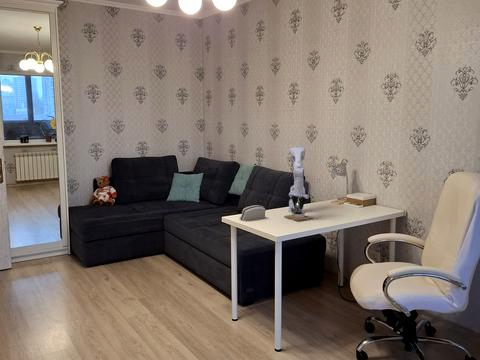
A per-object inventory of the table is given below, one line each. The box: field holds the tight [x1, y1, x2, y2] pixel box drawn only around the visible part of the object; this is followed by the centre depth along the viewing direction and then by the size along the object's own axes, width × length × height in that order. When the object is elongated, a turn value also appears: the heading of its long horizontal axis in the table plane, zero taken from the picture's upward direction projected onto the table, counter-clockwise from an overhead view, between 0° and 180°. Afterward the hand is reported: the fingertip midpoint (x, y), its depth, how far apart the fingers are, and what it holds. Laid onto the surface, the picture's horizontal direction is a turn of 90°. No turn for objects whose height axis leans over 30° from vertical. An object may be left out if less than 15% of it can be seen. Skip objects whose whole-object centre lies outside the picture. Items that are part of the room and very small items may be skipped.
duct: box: [283, 212, 314, 223], centre depth 270 cm, size 14×12×4 cm
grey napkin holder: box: [239, 204, 266, 222], centre depth 270 cm, size 17×5×10 cm, turn 120°
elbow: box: [291, 202, 302, 214], centre depth 268 cm, size 8×4×8 cm, turn 135°
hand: (298, 208), depth 270 cm, fingers closed on elbow, 4 cm apart
